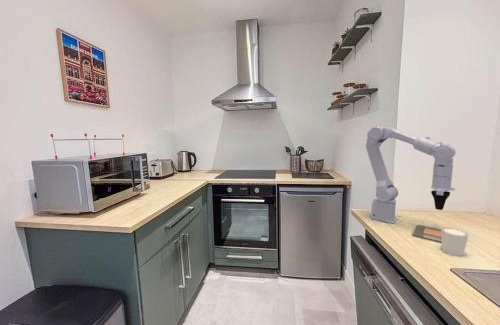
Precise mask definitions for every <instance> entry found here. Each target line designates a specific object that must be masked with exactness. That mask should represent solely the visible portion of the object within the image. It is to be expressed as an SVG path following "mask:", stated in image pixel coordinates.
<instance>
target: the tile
mask: <svg viewBox="0 0 500 325" xmlns="http://www.w3.org/2000/svg"><path fill="white" fill-rule="evenodd" d="M423 237H425V238H429V239H433V240H438V241H442V236H441V231H438V230H433V229H428V228H425V230H424V233H423Z"/></svg>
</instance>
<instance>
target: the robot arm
mask: <svg viewBox="0 0 500 325" xmlns="http://www.w3.org/2000/svg"><path fill="white" fill-rule="evenodd" d="M366 137H367V139H366V144H365V148H366V152H367V154H368V155H367V156H368V159H369V161H370V162H369V163H370V165H371V167H372V170H373V174H374V177H375V180H376V184H375V190H376V192H375V197H376V198H374V199H372V202H371V213H370V220H376V221H380V222H384V223H389V224H395V223H396V221H397V219H398V217H396V203H397V200H396V198H397V197H398V196H399V190H398V189H397V187H396V186H395V185H394V182H393V181H392V180H391V179H390V177H389V174H388V171H387V167H386V164H385V161H384V158H383V155H382V153H381V150H380V147H381V145H382V144H383V143H384V142H385V141H386V140H388V139H396V140H399V141H402V142H405V143H407V144H410V145H412V146H413V149H414V150H417V151H418V152H422V153H424V154H426V155H429V156H432V157H433V158H434V161H433V162H434V163H433V168H432V171H433V172H432V181H431V186H430V188H431V189H432V190H431V192H430V194H431V195H432V197H433V201H434V208H435V210H439V211H443V209H444V207H445V204H446V201H447V200H448V198H449V197H450V196H451V191H455V190H456V188H455V187H452V178H453V167H454V166H453V165H454V164H453V163H454V157H455V155H456V149H455V148H454V146H451V145H450V144H444V142H442V141H436V140H433V139H430V138H431V137H430V136H427V135H426V136H419V137H416V136H414V135H411V134H409V133H406V132H404V131H401V130H399V129H397V128H393V127H388V126H386V125H385V126H381V125H374V126H372V127H371V128H370V129H369V130H368V132H367V133H366Z"/></svg>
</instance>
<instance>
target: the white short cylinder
mask: <svg viewBox="0 0 500 325" xmlns="http://www.w3.org/2000/svg"><path fill="white" fill-rule="evenodd" d="M440 230H441V236H442V243H441V250H442V251H443V252H445V253H446V254H449V255H454V256H458V257H459V256H460V257H461V256H464V255H465V250H466V247H467V242H468V238H469V234H468V233H467V232H465V231H463V230H459V229H455V228H452V227H451V228H450V227H444V228H440Z"/></svg>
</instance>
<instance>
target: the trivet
mask: <svg viewBox="0 0 500 325" xmlns="http://www.w3.org/2000/svg"><path fill="white" fill-rule="evenodd" d="M425 228H428V229H433V230H438V231H441V229H438V228H434V227H429V226H424V225H421V224H416V225H415V228H414V230H413V232H412V234H411V237H415V238H419V239H423V240H428V241H432V242H435V243H440V244H442V241H438V240H433V239H429V238H425V237H423V233H424V230H425Z"/></svg>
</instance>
